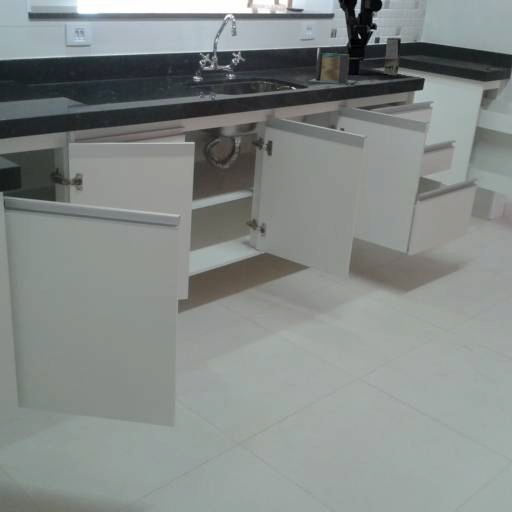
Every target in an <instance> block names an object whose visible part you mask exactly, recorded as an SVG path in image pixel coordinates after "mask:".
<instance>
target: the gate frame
mask: <svg viewBox="0 0 512 512" xmlns="http://www.w3.org/2000/svg"><path fill="white" fill-rule="evenodd" d="M322 53H323V47H317V51H316V70H315V73H316V74H315V78H316V81H320V80H321V68H322ZM348 57H349V55H340V69H339V83H345V84H346V83H347V72H348ZM349 58H350V57H349Z"/></svg>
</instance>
